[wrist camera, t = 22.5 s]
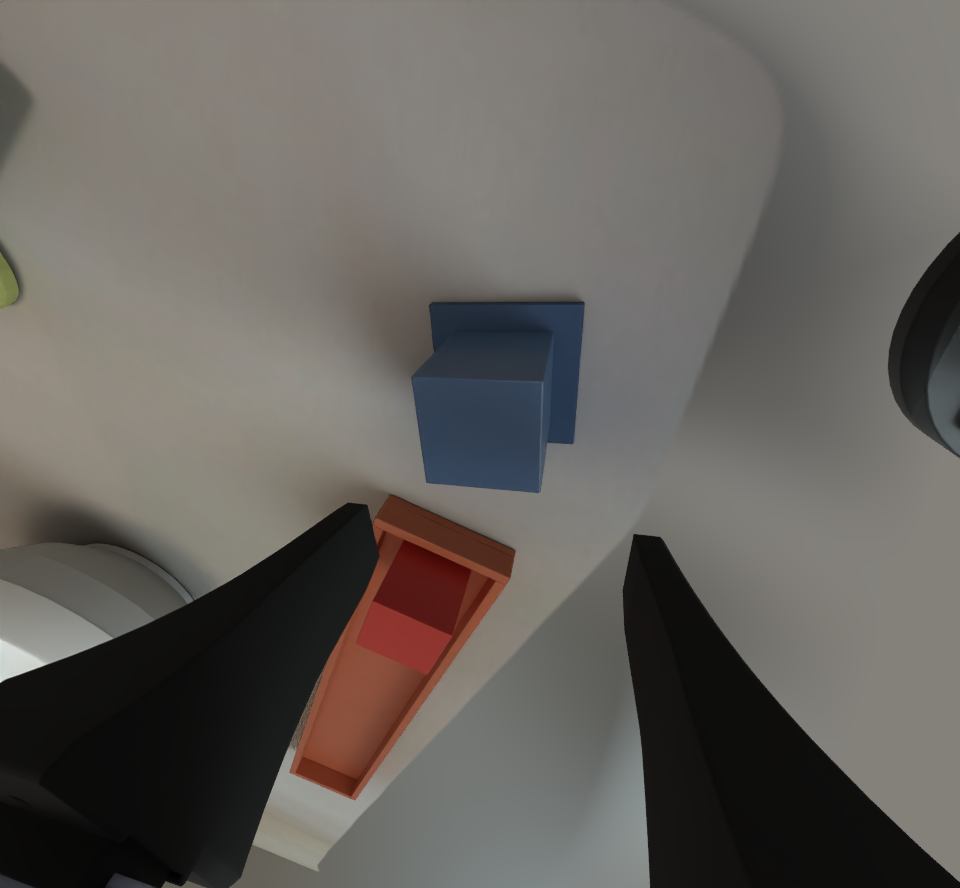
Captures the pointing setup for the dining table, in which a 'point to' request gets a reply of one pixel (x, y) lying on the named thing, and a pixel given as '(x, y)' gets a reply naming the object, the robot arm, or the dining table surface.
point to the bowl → (75, 600)
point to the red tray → (377, 679)
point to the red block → (415, 608)
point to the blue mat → (527, 318)
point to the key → (7, 284)
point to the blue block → (486, 409)
